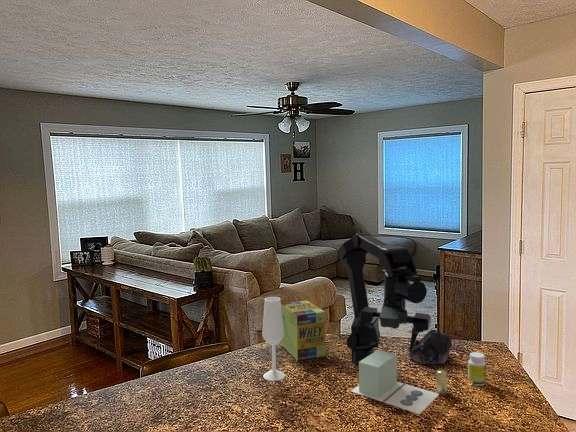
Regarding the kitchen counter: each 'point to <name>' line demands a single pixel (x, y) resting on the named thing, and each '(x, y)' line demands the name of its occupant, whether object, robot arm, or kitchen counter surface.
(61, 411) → the kitchen counter surface
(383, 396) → the board
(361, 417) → the kitchen counter surface
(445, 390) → the brass pin
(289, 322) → the protein box
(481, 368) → the supplement bottle
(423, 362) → the black rough lump
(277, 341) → the champagne flute
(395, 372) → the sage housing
